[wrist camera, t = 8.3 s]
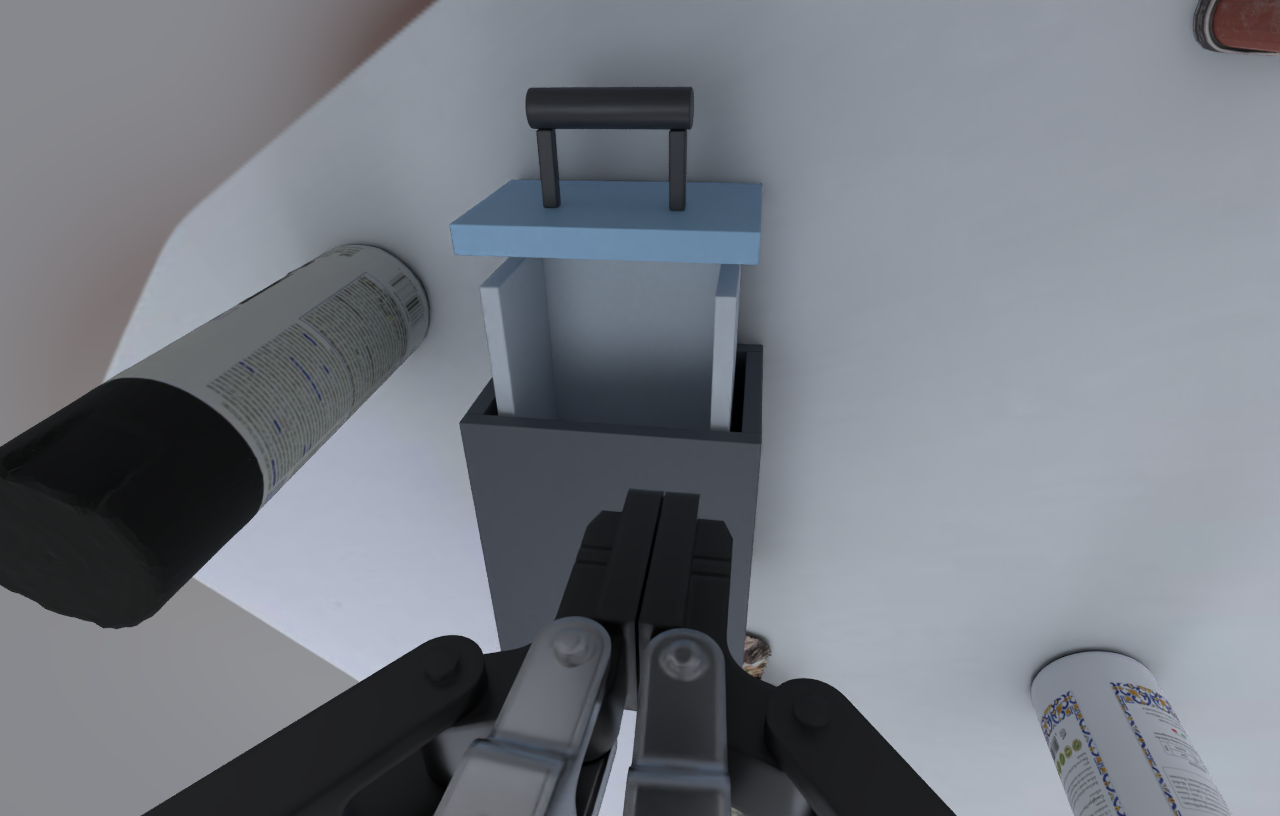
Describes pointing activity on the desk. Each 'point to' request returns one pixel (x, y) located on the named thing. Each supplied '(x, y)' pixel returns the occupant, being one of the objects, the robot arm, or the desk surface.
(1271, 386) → the desk surface
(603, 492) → the dark grey open box
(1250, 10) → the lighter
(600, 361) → the blue drawer
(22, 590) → the spray can
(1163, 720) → the bath foam
